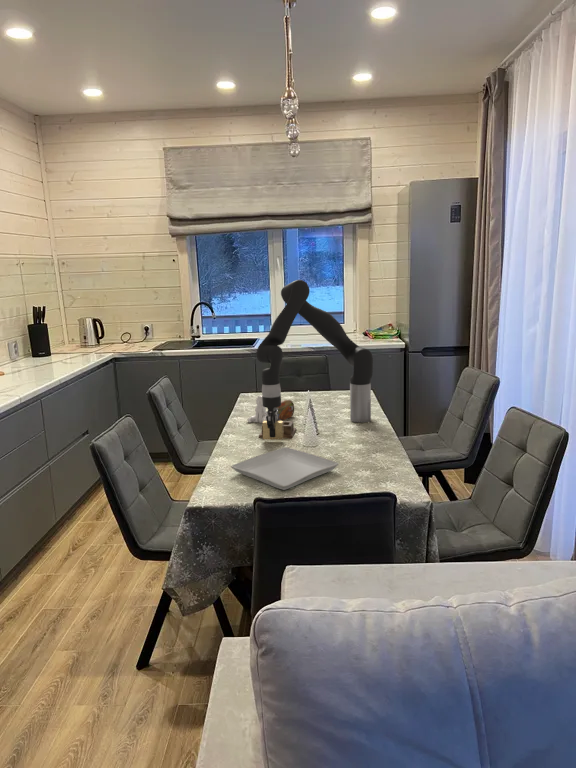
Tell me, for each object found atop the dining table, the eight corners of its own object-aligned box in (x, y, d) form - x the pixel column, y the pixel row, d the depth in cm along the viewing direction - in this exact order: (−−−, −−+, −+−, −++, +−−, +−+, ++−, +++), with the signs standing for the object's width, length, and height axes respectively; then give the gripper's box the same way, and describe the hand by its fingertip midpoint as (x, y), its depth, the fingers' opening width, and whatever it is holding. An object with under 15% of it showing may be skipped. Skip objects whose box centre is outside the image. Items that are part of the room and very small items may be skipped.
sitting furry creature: (246, 422, 258) (245, 397, 255) (255, 417, 265) (254, 393, 263) (265, 424, 254) (263, 398, 251) (273, 419, 262) (272, 394, 259)
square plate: (229, 475, 194) (229, 464, 194) (286, 455, 213) (285, 445, 212) (284, 496, 175) (283, 484, 175) (340, 472, 194) (340, 461, 193)
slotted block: (296, 429, 244) (296, 419, 243) (291, 438, 232) (291, 427, 231) (264, 429, 246) (264, 419, 245) (259, 437, 235) (258, 427, 234)
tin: (275, 423, 255) (274, 405, 253) (270, 422, 257) (269, 404, 255) (295, 415, 267) (294, 398, 265) (289, 415, 269) (289, 397, 267)
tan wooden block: (283, 437, 229) (283, 420, 228) (282, 439, 226) (281, 422, 225) (264, 437, 231) (263, 420, 229) (263, 439, 228) (262, 422, 226)
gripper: (277, 398, 217) (279, 441, 221) (283, 390, 231) (285, 430, 234) (258, 398, 218) (260, 441, 222) (265, 390, 232) (267, 430, 236)
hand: (273, 435), depth 228 cm, fingers closed on tan wooden block, 3 cm apart
